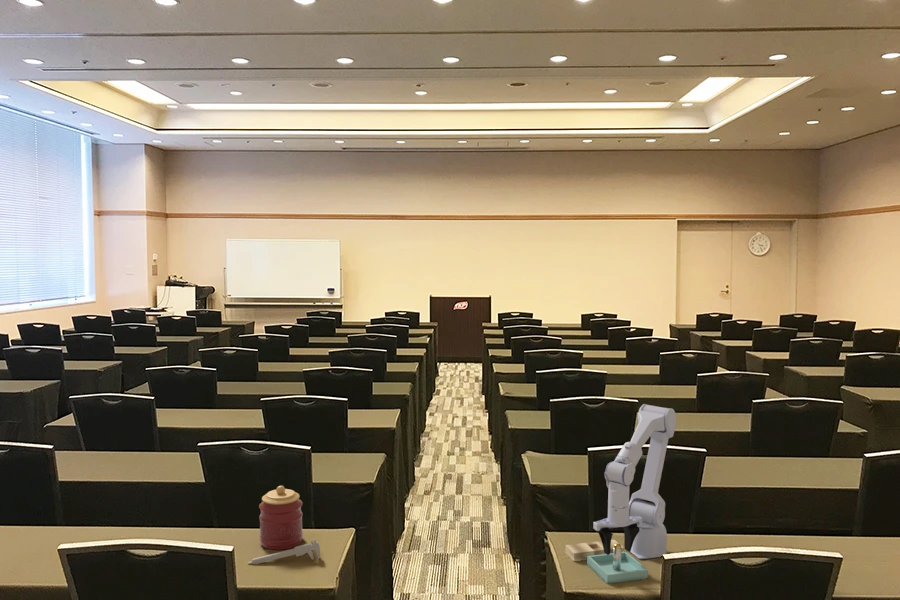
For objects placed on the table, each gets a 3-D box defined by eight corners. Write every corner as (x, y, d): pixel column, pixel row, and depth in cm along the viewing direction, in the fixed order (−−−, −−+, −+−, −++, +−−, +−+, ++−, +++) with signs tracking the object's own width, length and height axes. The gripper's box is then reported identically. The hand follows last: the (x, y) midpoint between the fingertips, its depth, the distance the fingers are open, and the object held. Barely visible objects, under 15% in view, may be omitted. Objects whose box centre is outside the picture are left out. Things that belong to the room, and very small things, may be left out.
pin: (617, 566, 213) (618, 541, 212) (622, 570, 211) (623, 544, 210) (611, 567, 212) (612, 542, 211) (615, 571, 210) (616, 545, 209)
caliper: (321, 556, 219) (317, 537, 219) (322, 558, 218) (317, 538, 218) (251, 575, 216) (246, 556, 215) (250, 577, 215) (246, 557, 214)
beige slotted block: (613, 547, 227) (614, 539, 227) (623, 555, 222) (623, 547, 222) (565, 553, 223) (565, 545, 223) (573, 561, 217) (574, 553, 217)
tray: (625, 559, 219) (625, 551, 219) (647, 578, 207) (648, 569, 207) (586, 564, 216) (587, 556, 215) (607, 583, 204) (607, 575, 203)
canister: (255, 550, 224) (254, 493, 222) (265, 533, 237) (264, 479, 235) (298, 550, 224) (298, 493, 223) (306, 533, 237) (305, 479, 236)
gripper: (633, 497, 216) (632, 543, 217) (588, 502, 211) (587, 549, 212) (647, 505, 209) (645, 552, 210) (601, 511, 204) (599, 559, 206)
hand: (617, 551), depth 211 cm, fingers open, 6 cm apart
